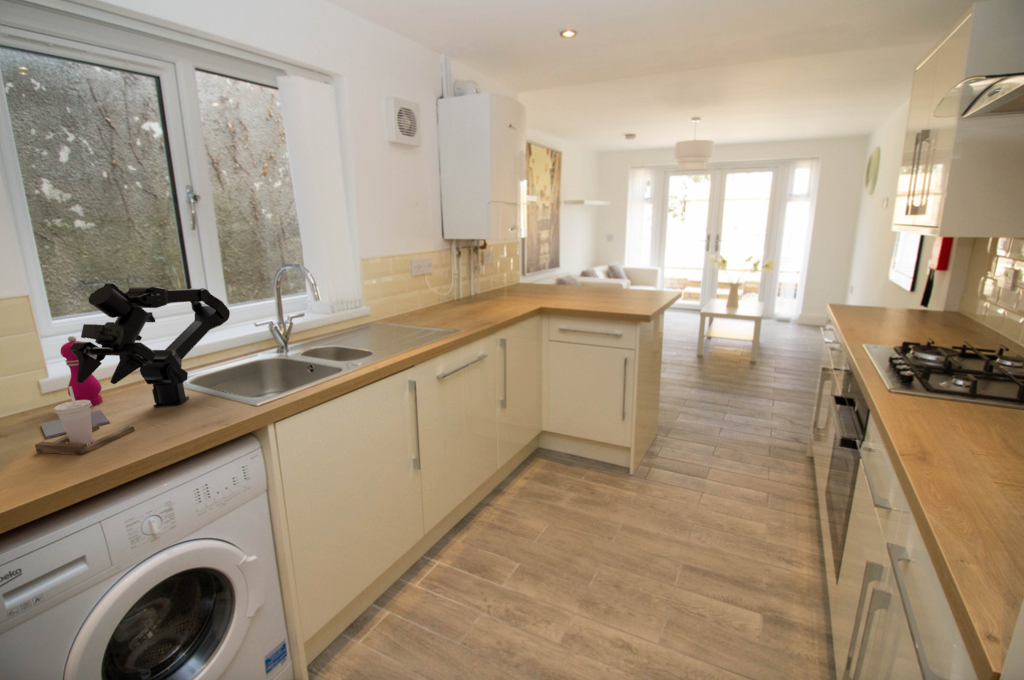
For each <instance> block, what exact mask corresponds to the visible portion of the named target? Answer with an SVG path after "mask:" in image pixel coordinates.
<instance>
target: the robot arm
mask: <svg viewBox="0 0 1024 680" xmlns="http://www.w3.org/2000/svg"><path fill="white" fill-rule="evenodd" d="M185 302H187V303H189V302H190V303H191V304H190V305H191V309H192V311H193V312H194V320H193V321H192V322H191V323H190V324H189V326H187V327H186V328H185V330H184V331H182V332H181V333H180V334H179V335H178V336H177V337H176V338H175V339H174V340H173V341H172V342H171V343H170V344H169V345H168V346H167V347H166V348H165V349H152V348H150V347H148V346H147V345H145V344H144V343H142V342H141V340H142V338H143V337H142V336H141V335H140V334H141V332H142V330H143V328H144V326H145V324H146V323H156V318H155V317H154V315H153V312H152V311H151V312H150V311H149V312H148V311H146V310H145V309H158V308H162V307H165V306H167V305H169V304H172V303H185ZM202 302H203V304H202ZM88 303H89V304H91V306H93V307H94V308H96V309H97V310H99V311H100V312H101V313H103V314H105V315H106V316H107V317H108V318H111V319H114V318H116V320H115V321H107V322H106V323H105V324H96V323H95V324H88V323H84V324H83V325H82V330H81V335H80V338H81V339H82V338H83V339H90V340H91V339H92V340H95V341H94V343H96V344H97V345H96V344H94V343H93V342H92V341H91V342H90V341H81V342H76V343H73V345H72V346H71V348H70V351H71V352H73V354H74V355H75V356H77V358H78V360H79V367H78V375H77V382H79V383H83V382H84V381H85V380H86V379H87V378H88V377H89V376H90V375H91V374H93V373H94V372H95V371H96V370H97V369H98V368H99V367H100V366H101V365H102V364H103V363H102V362H101V361H103V360H105V358H106V356H118V357H119V362H118V363H117V365H116V368H115V370H114V372H113V374H112V376H111V379H110V383H111V384H112V385H116V384H117V383H118V382H121V381H122V380H123V379H124V378H126V377H127V376H129V375H130V374H132V373H134V372H135V371H136V370H138V369H139V372H140V375H141V376H142V379H144V381H145V382H146V384H147V385H152V389H151V391H152V396H153V401H154V403H155V404H153V405H152V406H153V408H160V407H161V408H164V407H165V408H166V407H178V406H180V405H181V404H183V403H184V402H186V401H187V400H188V399H190V396H189V395H188V396H186V391H185V386H184V382H185V381H187V380H188V377H189V376H188V375H189V373H188V371H186V370H185V369H183V368H182V365H183V364H182V363H183V362H182V361H183V359H184V358H185V357H186V356H187V355H188V354H189V353H190V352H191V351H192V350H193V348H194V347H195V346H196V345H198V343H199V342H200V341H201V340H202V339H203V338H204V337H205V335H207V333H209V332H210V331H211V330H213V329H215V328H218V327H220V326H222V325H223V324H225V323H226V322H228V320H229V318H230V314H231V312H230V309H229V308H228V306H227V305H225V303H224V302H223V301H222V300H221V299H219V298H218V297H216V296H214V295H213V294H211V293H210V292H209V290H207V289H206V288H204V287H199V288H198V287H196V288H194V287H192V288H185V289H179V288H178V289H167V288H164V287H159V286H131V287H130V288H128V290H127V292H124V291H122V290H121V289H120V288H119V287H118V286H117V285H116V284H114V282H113V283H109V282H107V283H105V284H104V286H101V287H100V288H98V289H96V290H95V291H93V292H91V294H90V295H89V296H88ZM137 341H139V342H137ZM98 345H101V346H98Z"/></svg>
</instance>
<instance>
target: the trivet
mask: <svg viewBox="0 0 1024 680" xmlns="http://www.w3.org/2000/svg"><path fill="white" fill-rule="evenodd" d="M91 424H92V425H99V427H101V426H105V425H107V424H110V419H108V418H107V415H105V414H104V413H103V411H102V410H101V409H98V410H95V411H91ZM40 427H41V429H42V431H43V434H44V437H45V438H46V440H48V439H52V438H56V437H59V435H60V436H63V434H64V435H67V434H66V431H65V429H64V427H63V425H62V423H61V420H60V418H59V419H55V420H51V421H47V422H42V423H40ZM55 436H56V437H55ZM47 438H48V439H47Z"/></svg>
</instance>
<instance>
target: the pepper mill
mask: <svg viewBox="0 0 1024 680" xmlns="http://www.w3.org/2000/svg"><path fill="white" fill-rule="evenodd" d="M67 341H68V342H66V343H64V344H63V345H61V347H60V354H61V357H63V358H64V359H66V360H65V365H66V366H68V368H69V371H70V380H69V382H68V386H67V392H68V393H67V394H68V396H69V397H71V395H70V391H69V387H70V386H72V390H73V394H74V398H75V401H77V400H90V401H91V404H92V405H91V406H90V407H94V406H97V405H100V404H101V403H103V398H102V397H103V396H102V395H101V394H100V392H101V391H102V385H101V383H100V381H99V380H98V379H97V377H95V376H94V374H93V373H92V374H91V375H90V376H89V377H88V378H87V379H86V380H85V381H84V382H83V383H79V382H77V375H78V367H79V360H78V358H77V356H75V355H74V354H73V352H71V351H70V348H71V346H72V345H73V343H76V342H82V341H79V340H77V337H76V336H74V335H70V336H68V338H67Z"/></svg>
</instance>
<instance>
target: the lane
mask: <svg viewBox="0 0 1024 680" xmlns="http://www.w3.org/2000/svg"><path fill="white" fill-rule="evenodd" d="M99 429H100V426H99V425H92V431H93V432H95V431H98V430H99ZM133 430H134V431H135V427H134V425H133V426H132V425H128V426H125V427H123V428H121V429H119V430H116V431H114V432H112V433H110V434H108V435H105V436H103V437H100V438H99V439H97V440H95V441H94V440H93V442H92V443H90V444H88V445H87V444H85V443H71V442H69V441H70V440H69V438H68V436H67V435H66V436H65V435H64V436H63V437H60V438H58V439H56V440H53V441H41V442H38V443H35V444H34V448H35V451H36V453H37V452H39V453H38V454H49V453H63V454H62V455H69V454H77V455H76V456H83V455H84V453H85V454H87V453H89V452H91V451H94V450H95V448H96V449H98V448H100V447H101V445H102V446H104V445H106V444H108V443H110V442H112V440H113V441H115V440H117V439H118V437H119V438H121V437H123V436H125V435H127V434H129V432H130V433H132V432H134V431H133ZM131 431H132V432H131ZM120 436H121V437H120ZM116 438H117V439H116ZM114 439H115V440H114ZM66 442H68V443H66ZM103 444H104V445H103ZM99 446H100V447H99ZM97 447H98V448H97ZM93 449H94V450H93ZM90 450H91V451H90ZM88 451H89V452H88ZM86 452H87V453H86ZM82 454H83V455H82Z"/></svg>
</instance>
